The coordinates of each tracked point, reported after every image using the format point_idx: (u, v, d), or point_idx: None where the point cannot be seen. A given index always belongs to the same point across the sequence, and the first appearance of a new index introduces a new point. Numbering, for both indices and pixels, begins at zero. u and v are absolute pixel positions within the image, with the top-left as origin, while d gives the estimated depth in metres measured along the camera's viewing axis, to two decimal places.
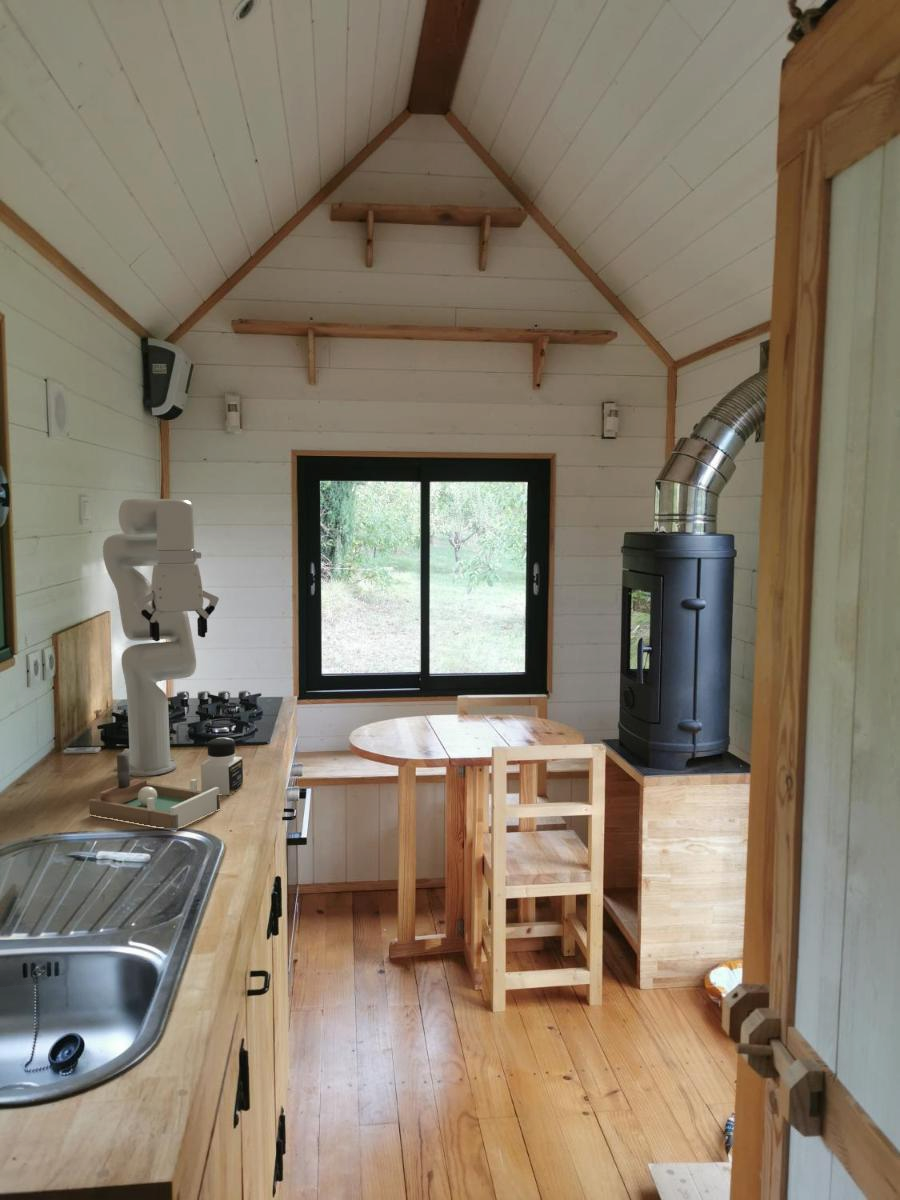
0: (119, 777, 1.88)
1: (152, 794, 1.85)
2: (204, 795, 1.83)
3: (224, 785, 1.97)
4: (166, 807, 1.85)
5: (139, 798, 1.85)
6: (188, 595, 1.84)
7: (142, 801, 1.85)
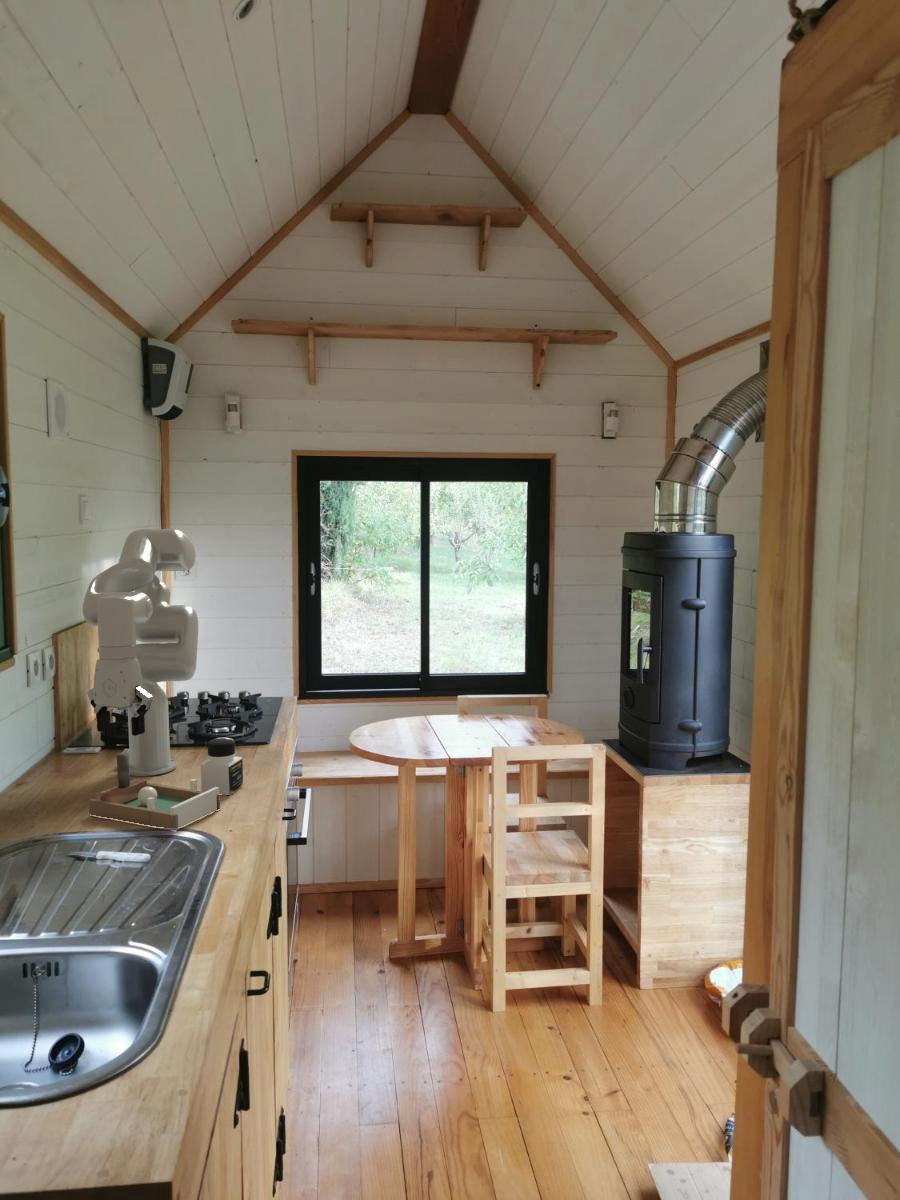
0: (119, 777, 1.88)
1: (152, 794, 1.85)
2: (204, 795, 1.83)
3: (224, 785, 1.97)
4: (166, 807, 1.85)
5: (139, 798, 1.85)
6: None
7: (142, 801, 1.85)
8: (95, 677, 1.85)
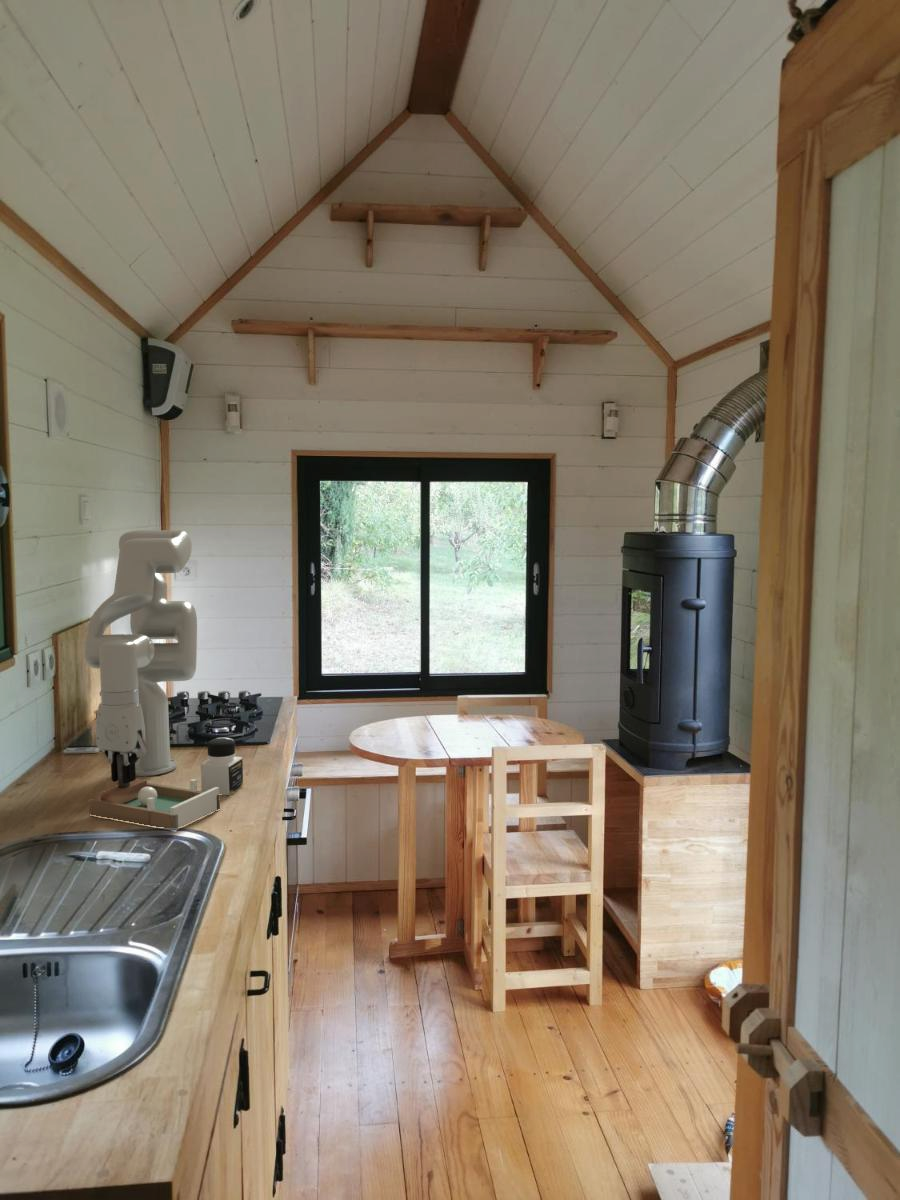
0: (119, 777, 1.88)
1: (152, 794, 1.85)
2: (204, 795, 1.83)
3: (224, 785, 1.97)
4: (166, 807, 1.85)
5: (139, 798, 1.85)
6: None
7: (142, 801, 1.85)
8: (97, 721, 1.87)
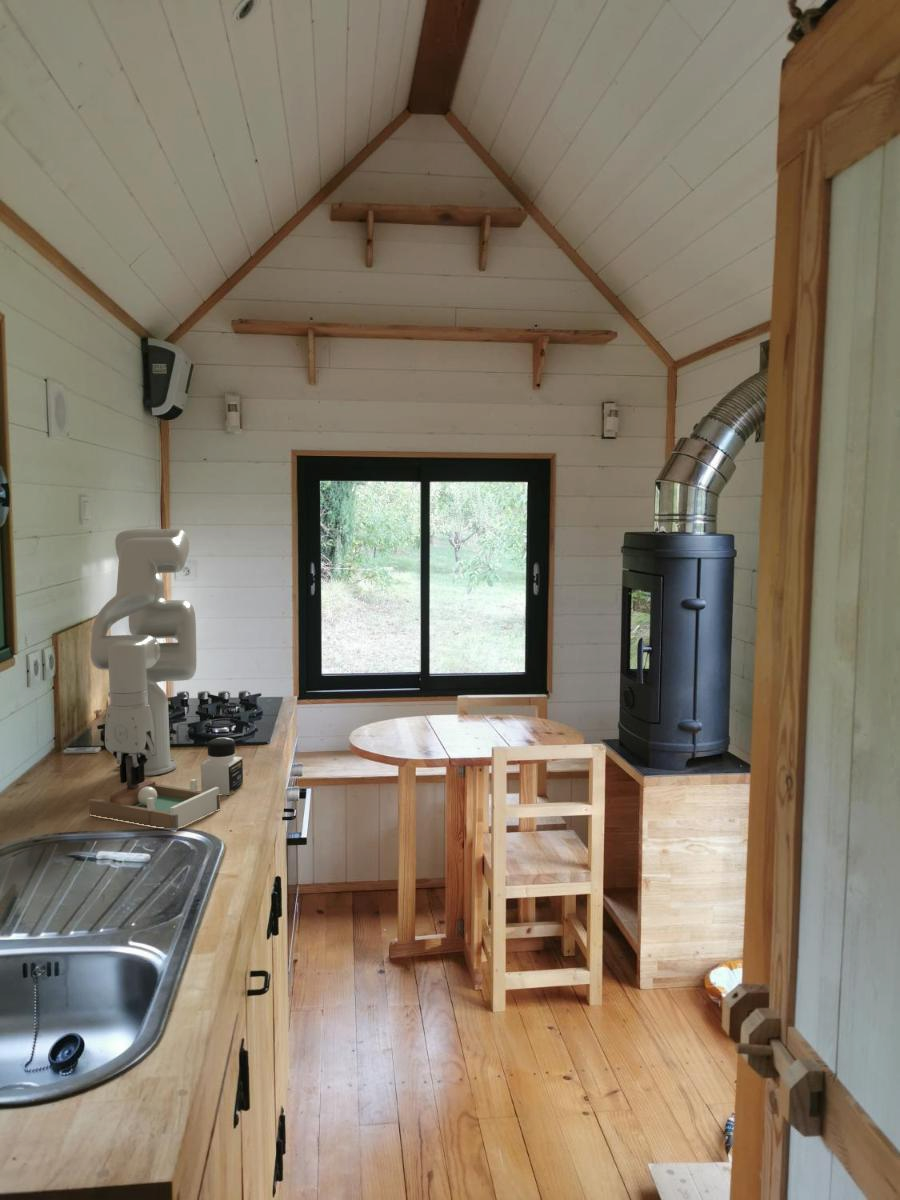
0: (127, 778, 1.87)
1: (152, 794, 1.85)
2: (204, 795, 1.83)
3: (224, 785, 1.97)
4: (166, 807, 1.85)
5: (139, 798, 1.85)
6: None
7: (142, 801, 1.85)
8: (106, 722, 1.86)
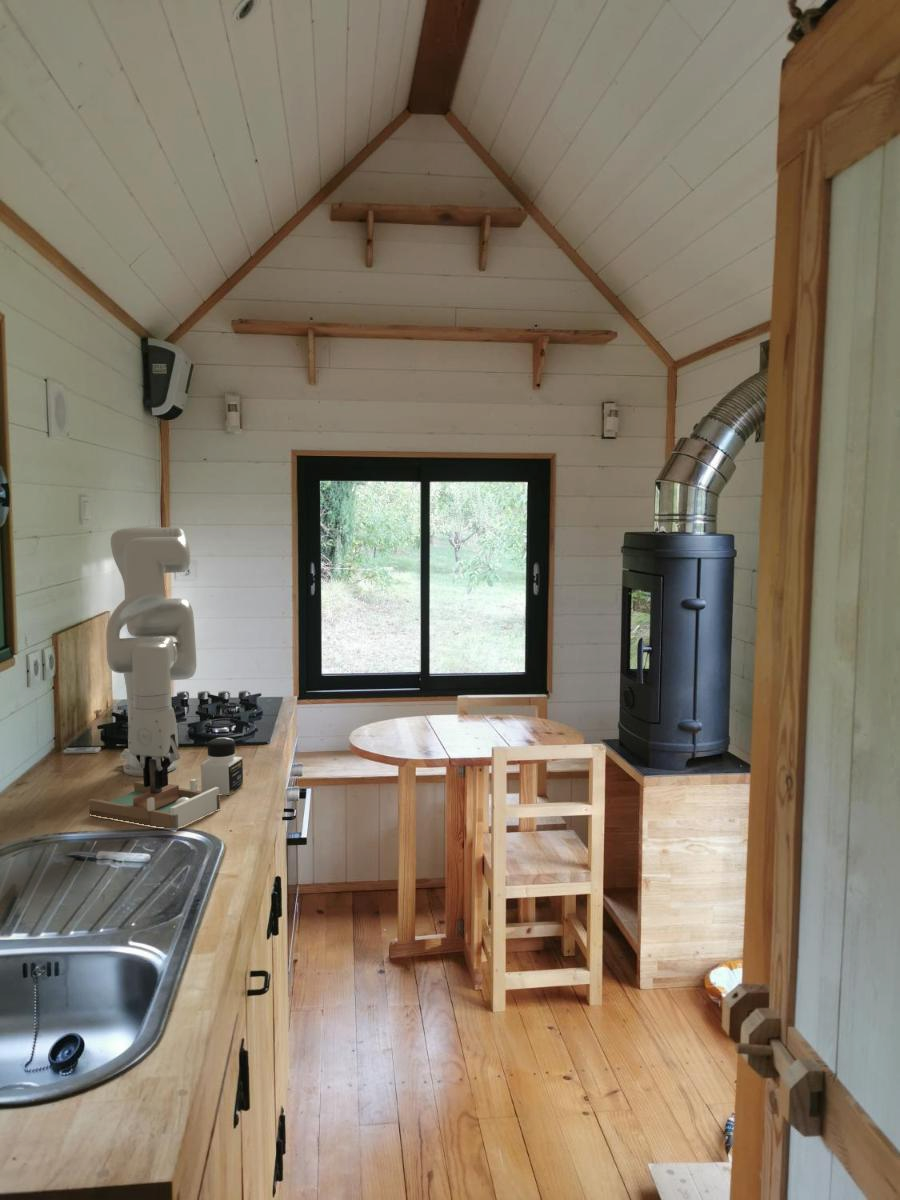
0: (151, 782, 1.84)
1: (181, 798, 1.82)
2: (204, 795, 1.83)
3: (224, 785, 1.97)
4: (166, 807, 1.85)
5: None
6: None
7: None
8: (130, 725, 1.83)
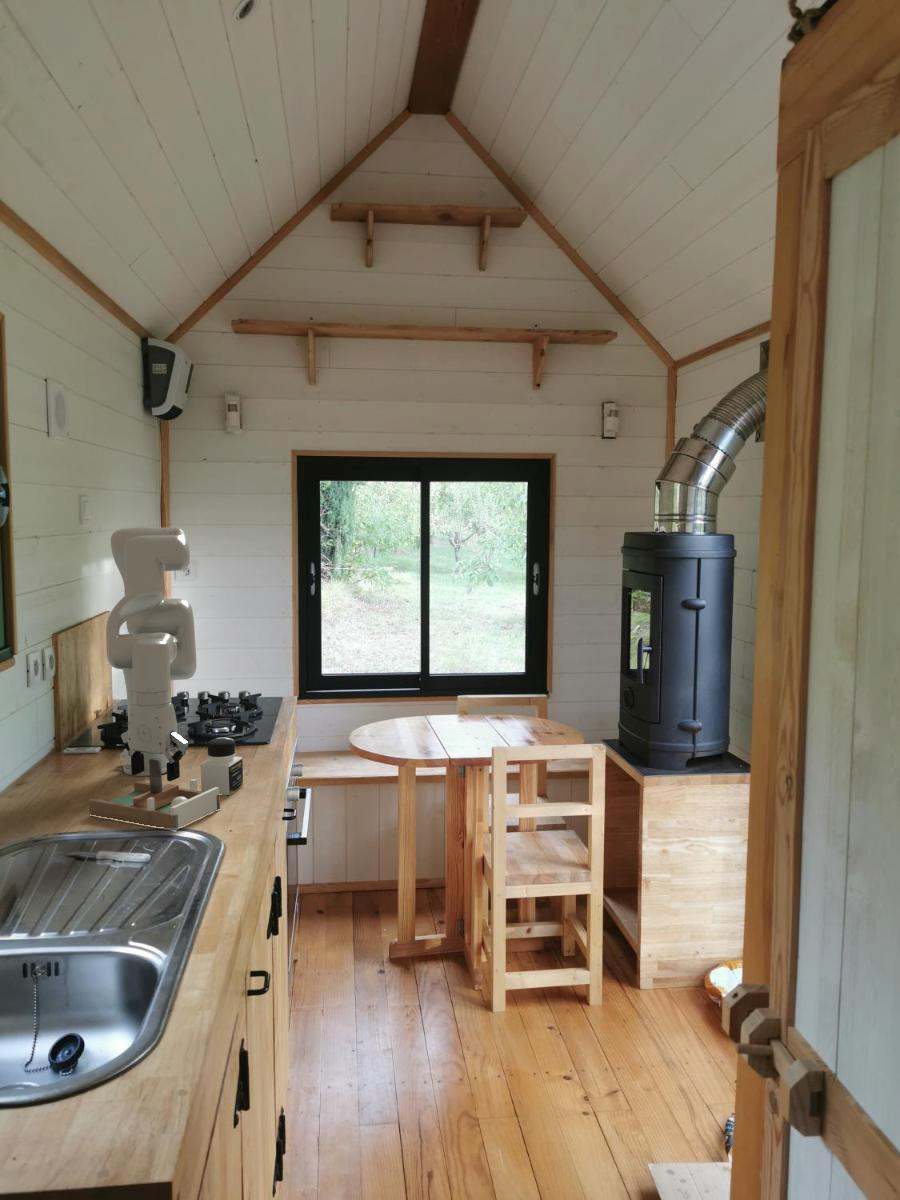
0: (151, 782, 1.84)
1: None
2: (204, 795, 1.83)
3: (224, 785, 1.97)
4: (166, 807, 1.85)
5: None
6: None
7: None
8: (129, 721, 1.83)
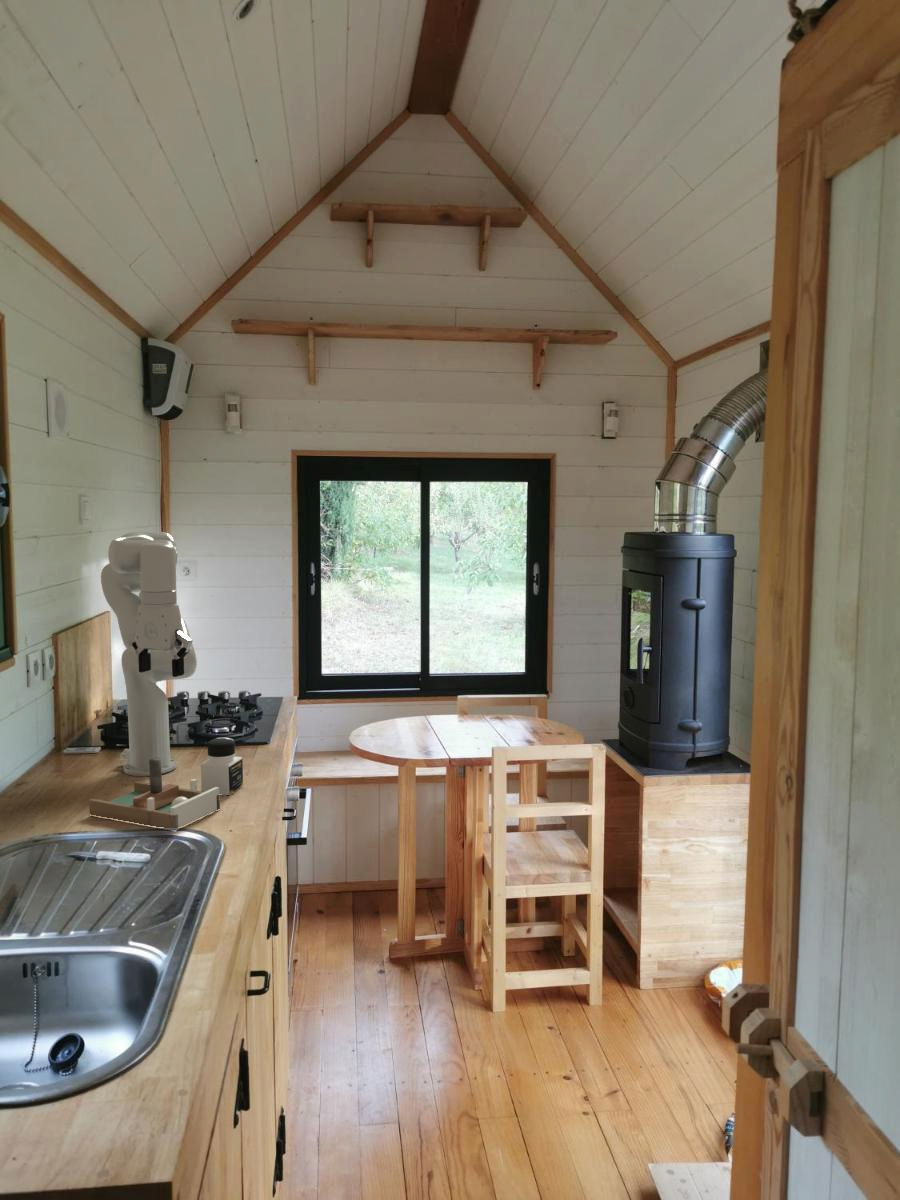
0: (151, 782, 1.84)
1: (175, 798, 1.83)
2: (204, 795, 1.83)
3: (224, 785, 1.97)
4: (166, 807, 1.85)
5: None
6: None
7: None
8: (137, 621, 1.94)
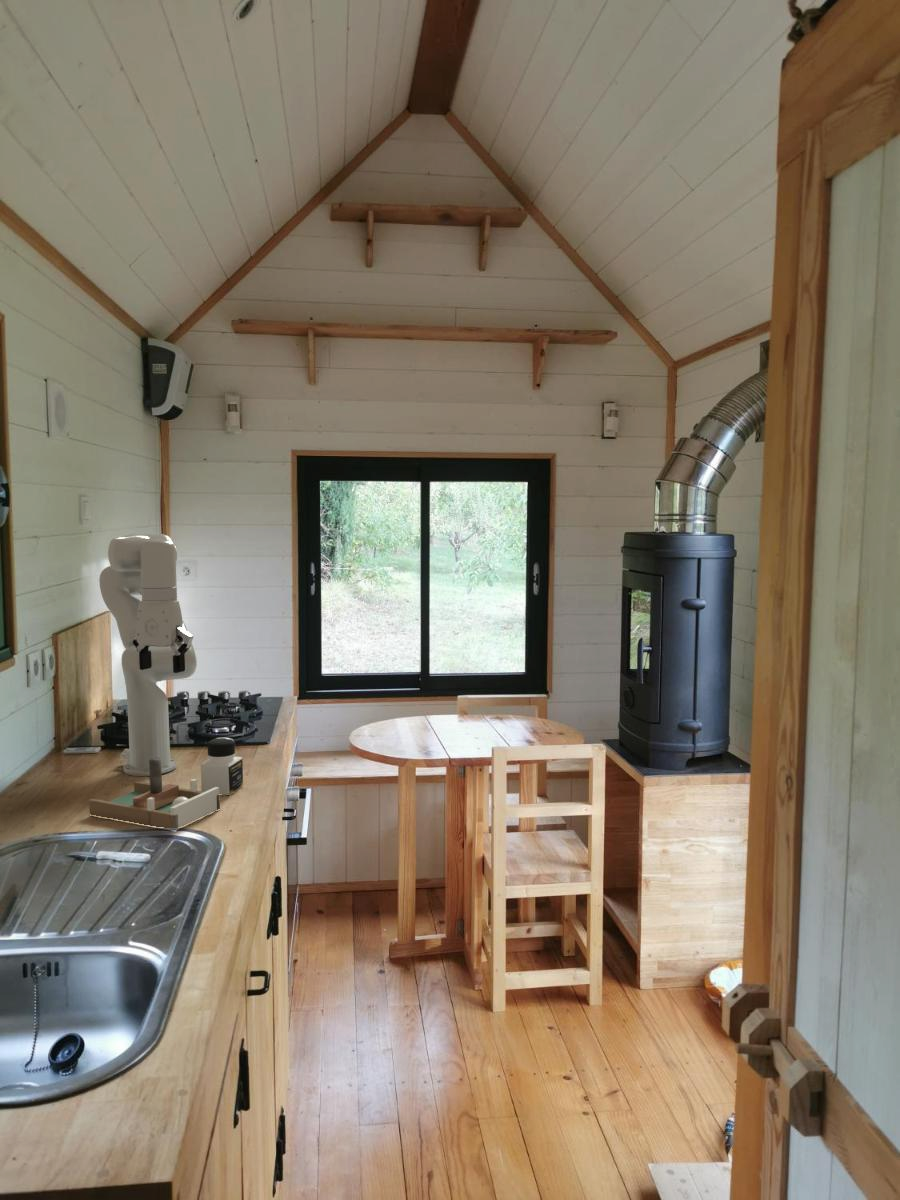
0: (151, 782, 1.84)
1: (176, 798, 1.83)
2: (204, 795, 1.83)
3: (224, 785, 1.97)
4: (166, 807, 1.85)
5: None
6: None
7: None
8: (138, 618, 1.95)
